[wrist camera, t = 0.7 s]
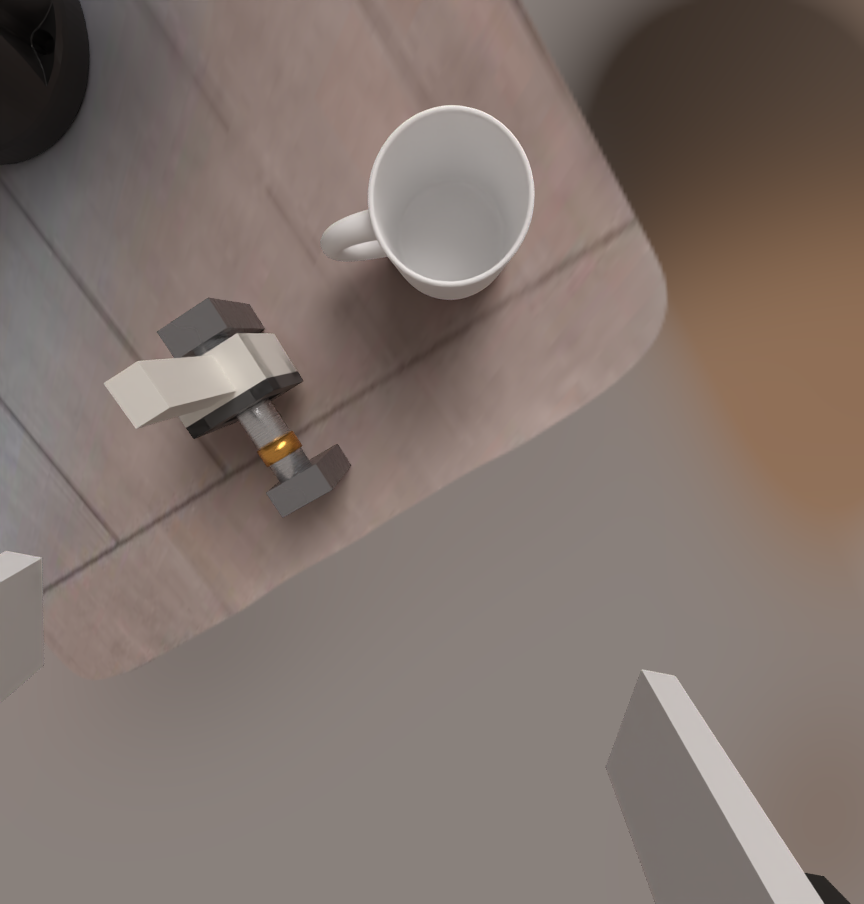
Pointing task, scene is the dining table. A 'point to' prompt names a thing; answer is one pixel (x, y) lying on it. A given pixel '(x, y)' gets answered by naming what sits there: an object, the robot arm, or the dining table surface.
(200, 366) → the sleeve
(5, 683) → the robot arm
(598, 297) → the dining table surface
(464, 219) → the mug
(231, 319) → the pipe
